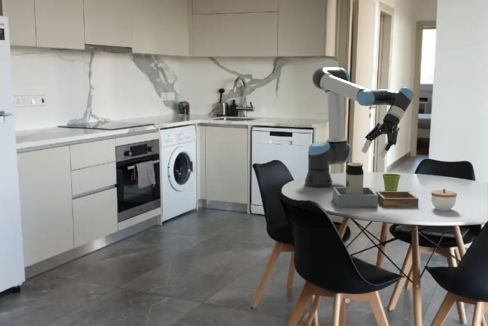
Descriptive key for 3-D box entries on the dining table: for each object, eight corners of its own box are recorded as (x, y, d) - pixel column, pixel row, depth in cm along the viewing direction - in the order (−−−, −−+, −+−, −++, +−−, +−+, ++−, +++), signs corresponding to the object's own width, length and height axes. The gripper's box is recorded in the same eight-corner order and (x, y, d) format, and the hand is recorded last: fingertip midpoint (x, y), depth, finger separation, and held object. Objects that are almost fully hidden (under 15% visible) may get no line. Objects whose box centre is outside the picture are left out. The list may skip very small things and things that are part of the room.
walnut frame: (375, 199, 262) (375, 191, 261) (408, 199, 262) (408, 191, 261) (383, 206, 246) (383, 198, 246) (418, 207, 246) (418, 198, 245)
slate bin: (332, 199, 263) (332, 187, 262) (369, 199, 262) (369, 187, 261) (338, 207, 245) (338, 195, 244) (377, 207, 244) (378, 195, 243)
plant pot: (400, 193, 275) (401, 176, 274) (382, 192, 277) (382, 176, 276) (399, 189, 284) (400, 173, 283) (381, 189, 286) (381, 173, 285)
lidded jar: (426, 206, 246) (427, 186, 245) (449, 206, 247) (450, 186, 246) (436, 212, 236) (437, 191, 234) (460, 211, 237) (461, 191, 235)
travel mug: (361, 199, 257) (362, 162, 254) (363, 203, 249) (364, 165, 247) (344, 199, 258) (345, 162, 255) (346, 202, 250) (347, 164, 247)
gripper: (416, 123, 251) (394, 161, 249) (381, 119, 274) (361, 154, 271) (406, 114, 248) (384, 153, 246) (371, 111, 270) (351, 146, 268)
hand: (372, 154), depth 259 cm, fingers open, 13 cm apart
